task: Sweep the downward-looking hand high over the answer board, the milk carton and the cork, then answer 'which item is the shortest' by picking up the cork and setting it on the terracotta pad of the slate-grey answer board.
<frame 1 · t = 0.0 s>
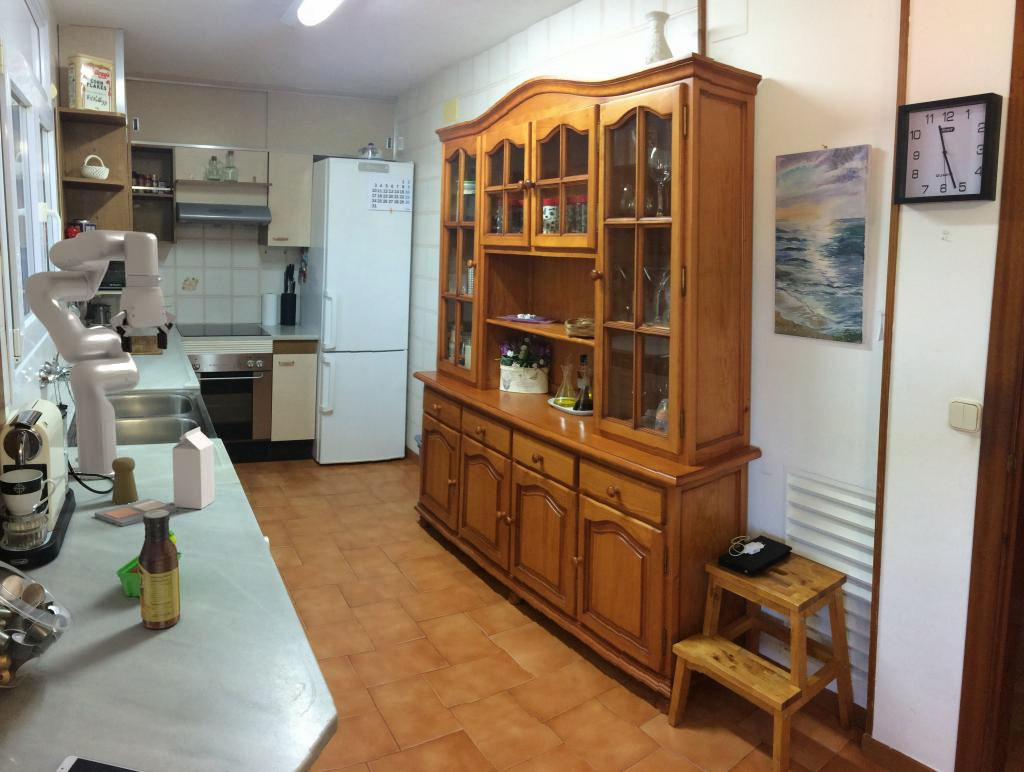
hand: (145, 350, 203), 37 cm above the countertop, tool pointing down, fingers open, 9 cm apart
milk carton: (195, 505, 199), on the countertop
sauce bottle: (161, 624, 137), on the countertop
cork: (125, 501, 200), on the countertop
fruit basket: (154, 588, 152), on the countertop
answer board: (136, 513, 191), on the countertop
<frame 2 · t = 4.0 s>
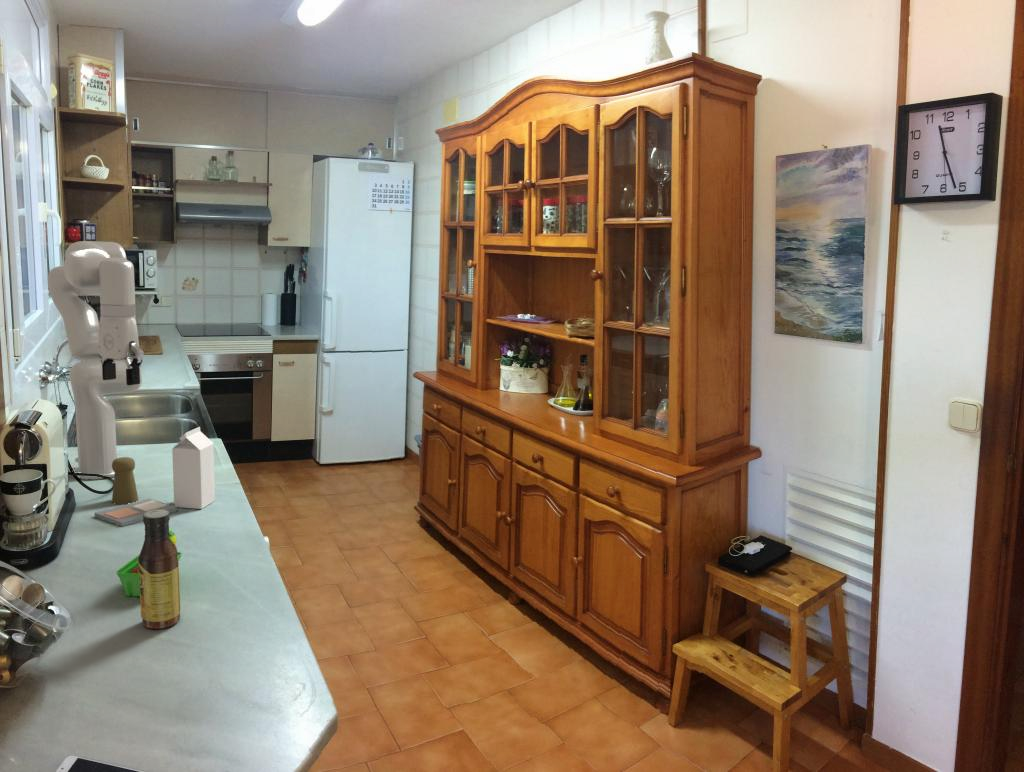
hand: (121, 382, 195), 30 cm above the countertop, tool pointing down, fingers open, 9 cm apart
nothing on the countertop moved.
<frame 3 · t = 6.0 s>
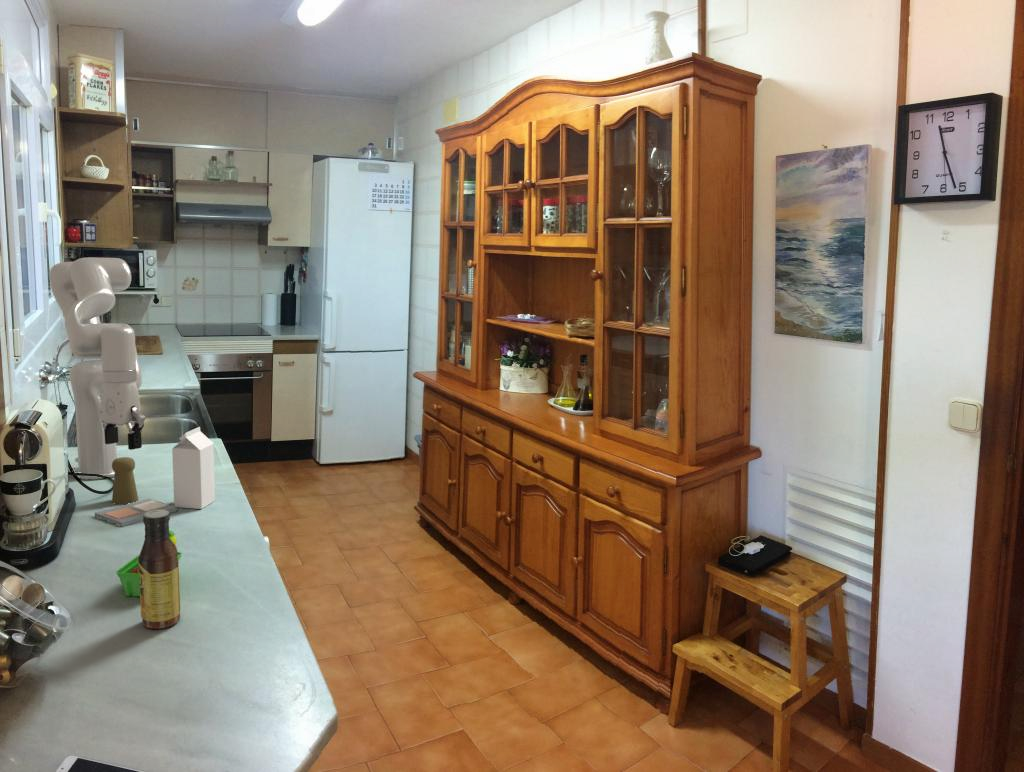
hand: (123, 446, 197), 14 cm above the countertop, tool pointing down, fingers open, 9 cm apart
nothing on the countertop moved.
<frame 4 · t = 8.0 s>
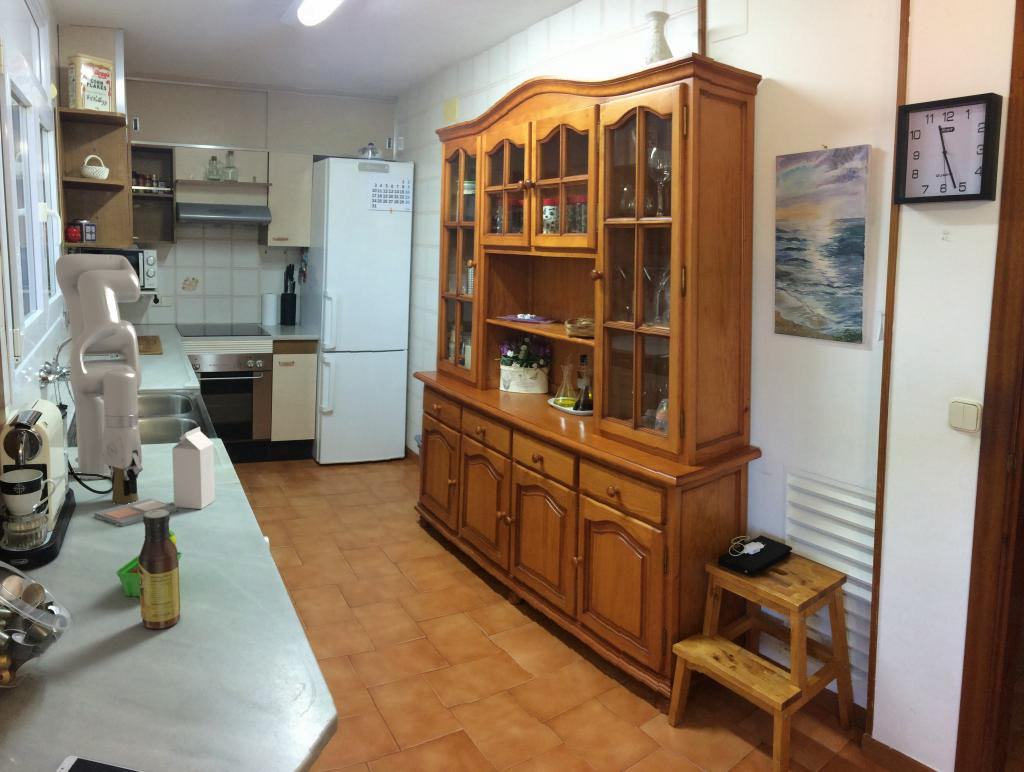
hand: (124, 491, 200), 2 cm above the countertop, tool pointing down, fingers closed on cork, 4 cm apart
cork: (125, 501, 200), on the countertop, touching gripper
everything else where it was.
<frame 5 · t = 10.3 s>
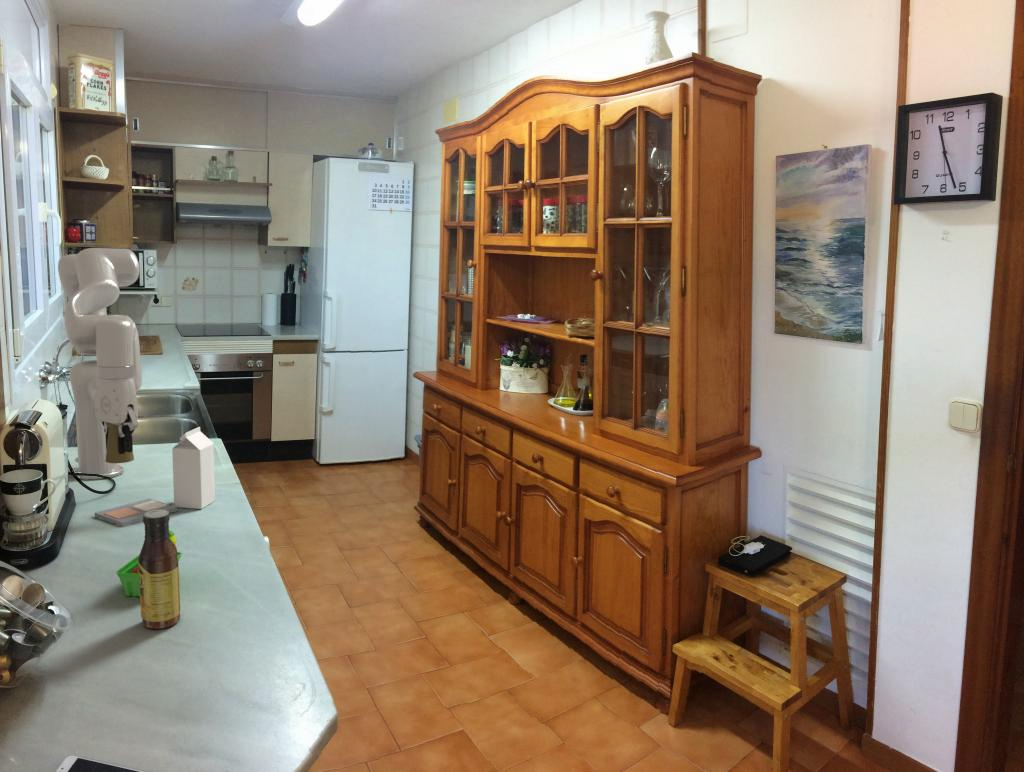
hand: (119, 450, 185), 16 cm above the countertop, tool pointing down, fingers closed on cork, 4 cm apart
cork: (119, 460, 186), point 14 cm above the countertop, touching gripper
everything else where it was.
when the fingers open (5 cm above the countertop, at t = 12.6 s): cork drops 1 cm, resting on answer board.
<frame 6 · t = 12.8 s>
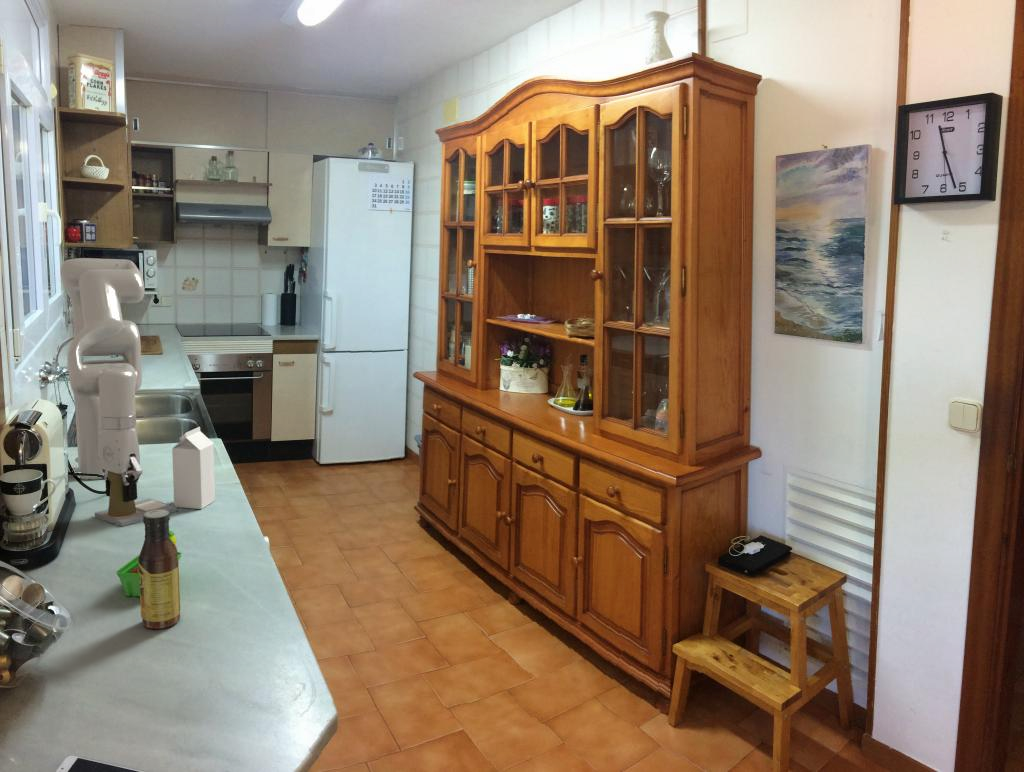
hand: (121, 497, 187), 5 cm above the countertop, tool pointing down, fingers open, 6 cm apart
cork: (122, 513, 188), point 1 cm above the countertop, touching answer board
everything else where it was.
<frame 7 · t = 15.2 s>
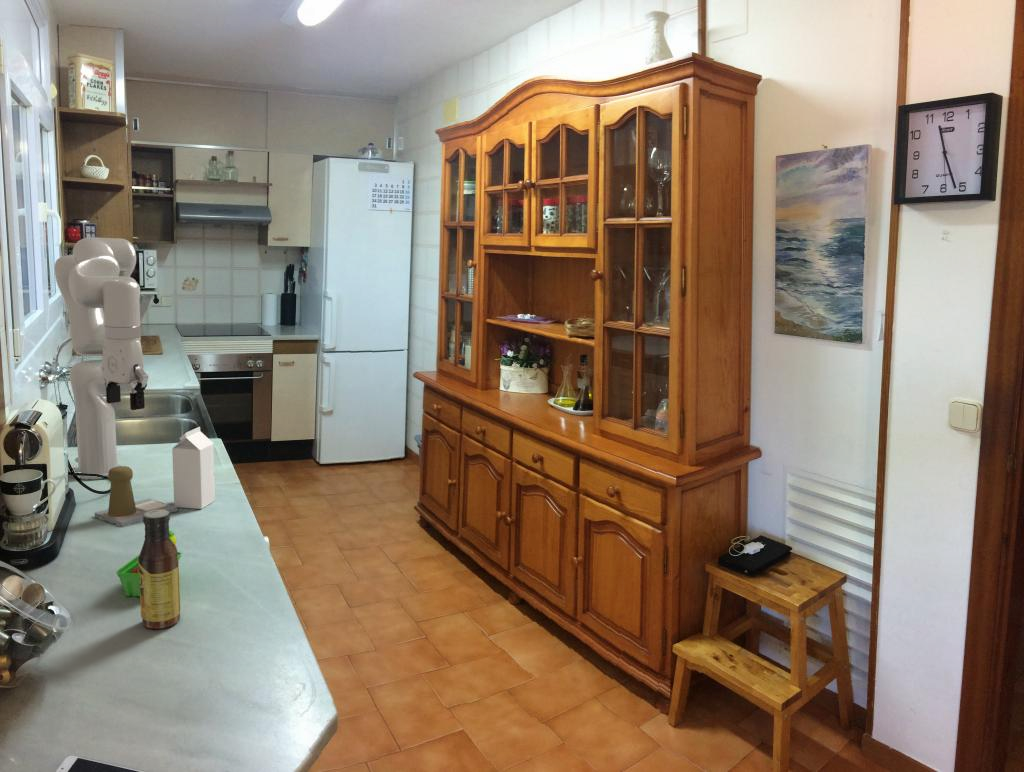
hand: (125, 405, 188), 26 cm above the countertop, tool pointing down, fingers open, 9 cm apart
nothing on the countertop moved.
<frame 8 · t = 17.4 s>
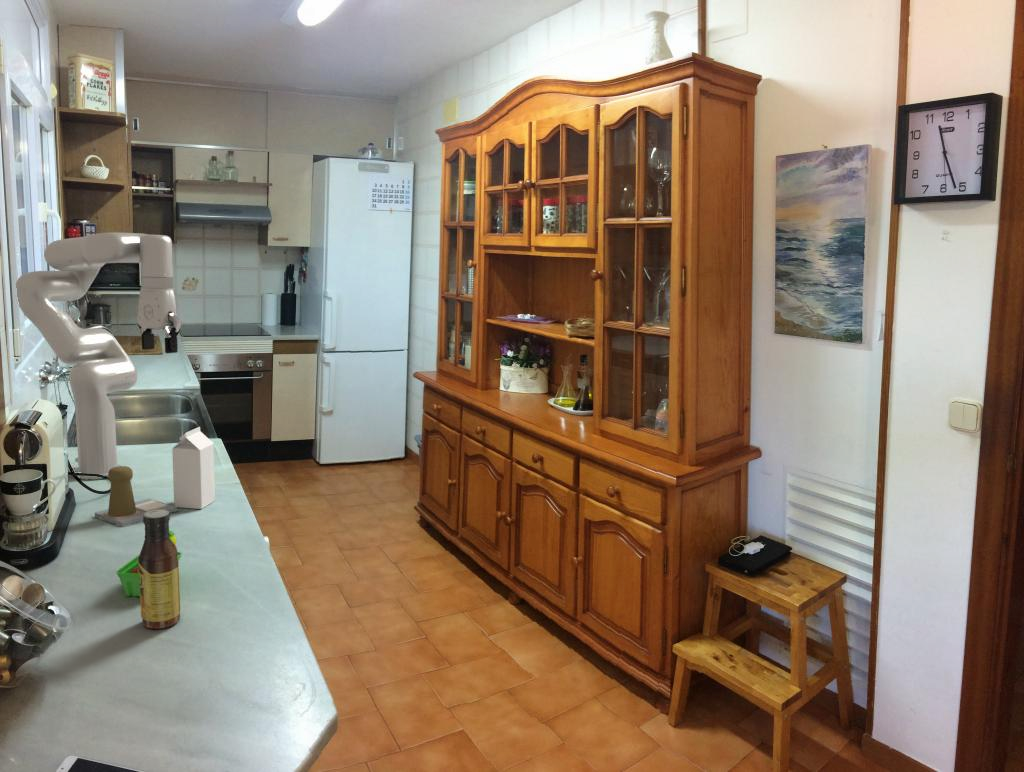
hand: (159, 350, 206), 36 cm above the countertop, tool pointing down, fingers open, 9 cm apart
nothing on the countertop moved.
at the end: cork 0.2 cm from the target spot on the answer board, point 1.0 cm above the answer board's base; cork tilted 0°; the gripper is holding nothing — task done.
